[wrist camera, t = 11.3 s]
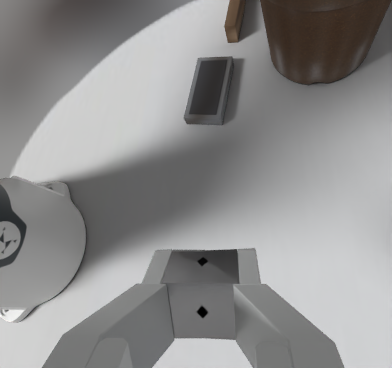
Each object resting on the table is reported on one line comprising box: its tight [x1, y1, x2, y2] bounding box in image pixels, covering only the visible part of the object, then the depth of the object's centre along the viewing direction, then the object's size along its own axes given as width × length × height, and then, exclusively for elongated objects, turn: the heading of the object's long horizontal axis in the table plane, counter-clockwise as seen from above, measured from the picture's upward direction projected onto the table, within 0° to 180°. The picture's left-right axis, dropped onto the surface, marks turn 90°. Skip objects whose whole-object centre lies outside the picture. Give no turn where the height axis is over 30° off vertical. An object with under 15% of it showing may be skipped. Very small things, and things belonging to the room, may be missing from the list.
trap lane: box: [184, 0, 246, 125], centre depth 38 cm, size 32×26×3 cm
